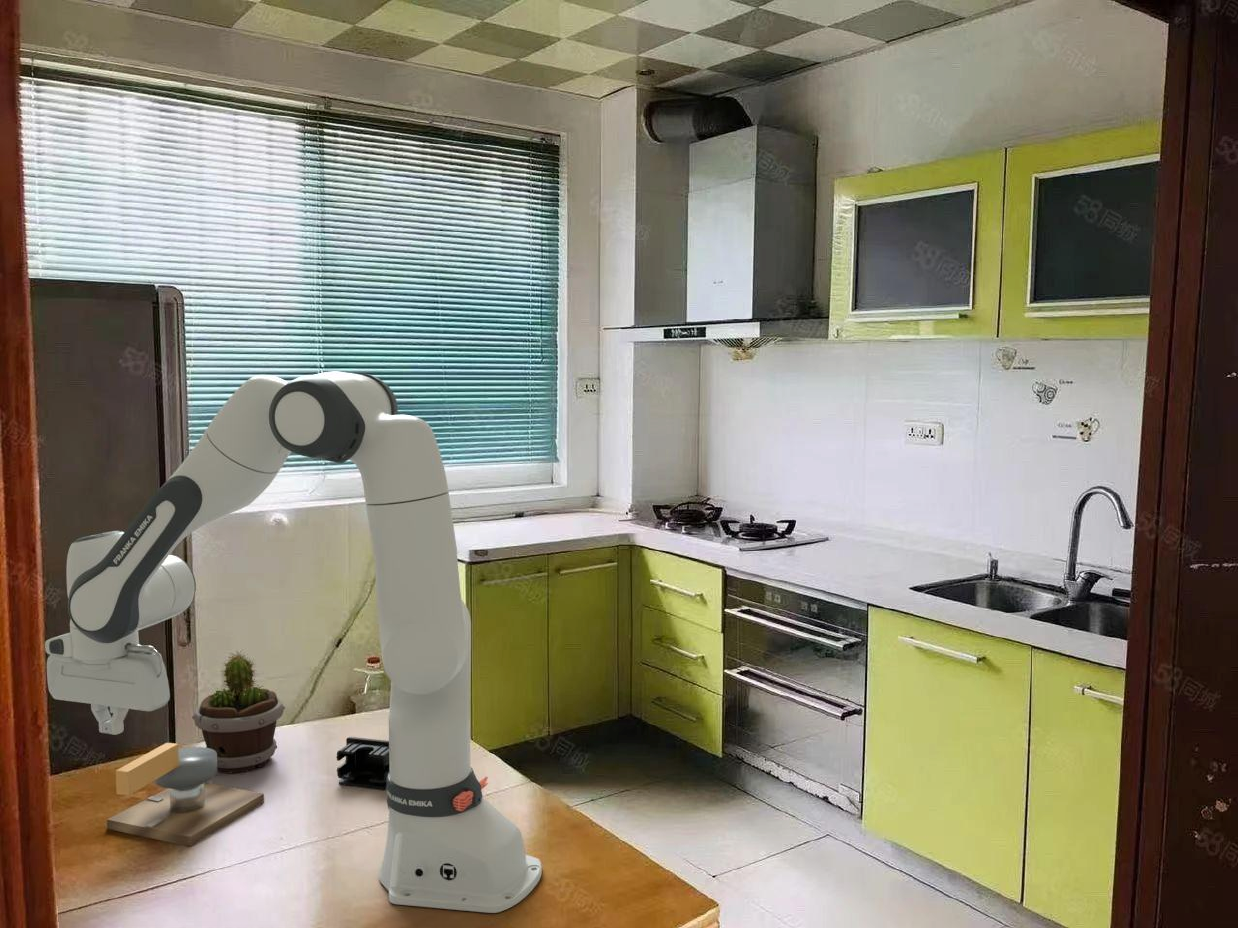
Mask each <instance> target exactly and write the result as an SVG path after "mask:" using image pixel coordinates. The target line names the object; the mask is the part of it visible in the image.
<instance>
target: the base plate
mask: <svg viewBox="0 0 1238 928" xmlns="http://www.w3.org/2000/svg"><path fill="white" fill-rule="evenodd" d="M204 791H205V805H204V806H203V807H202V808H201V809H199V810H196V811H193V812H188V813H175V812H172V811H171V810H170V790H169V788H165V789H164V790H162V791H160V792H158V793H155V794H154V795H152V796H149V797H147V798H146V799H144V800H143V801H140V802H139V803H137V804H135V805H133V806H131V807H129V808H126V809H125V810H123V811H121V812H119V813H117V814H115V815H113V816H111V817H109V818H107V819H106V830H110V831H115V832H121V833H125V834H128V835H133V836H134V835H135V836H137V837H144V838H147V839H152V840H153V839H154V840H158V841H163V842H167V843H172V844H176V845H182V846H187V847H192V846H194V845H196V844H197V843H198V842H201V841H202V840H203V839H206V838H207V837H209V836H210V835H212V834H213V833H215V832H217V831H219V830H220V829H222V828H224V827H226V826H227V825H229V824H231V823H232V822H234V821H235V820H237V819H239V818H241V817H243V816H244V815H246V814H247V813H249V812H251V811H253V810H254V809H256V808H257V807H260V806H261V805H262V803H263V804H264V803H265V793H263V792H257V791H254V790H253V791H251V790H246V789H240V788H234V787H230V786H223V785H220V784H214V783H208V782H206V783H204Z"/></svg>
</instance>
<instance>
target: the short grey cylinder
mask: <svg viewBox="0 0 1238 928" xmlns="http://www.w3.org/2000/svg"><path fill="white" fill-rule="evenodd" d="M169 790H170V810H171V811H172V812H175V813H188V812H193V811H196V810H199V809H201V808H202V807H203V806H204V805H205V791H204V783H203V784H200V785H197V786H193V787H187V788H177V789H171V788H169Z"/></svg>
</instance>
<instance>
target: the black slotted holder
mask: <svg viewBox="0 0 1238 928" xmlns="http://www.w3.org/2000/svg"><path fill="white" fill-rule="evenodd" d="M345 739H346V740H345V742H346V743H345V746H343V747H342V748H341V749H339V750H338V751H337V753H336V761H338V762H340V761H341V760H342V759H343V758H345V761H344V762H343V763H342V764H341V765H339V766H338V767H336V768H337V769H336V773H337V774H336V776H337V777H338V779H339V780H338V785H339V786H341V787H342V786H343V787H353V788H361V789H369V790H375V791H386V787H387V775H388V773H389V772H390V771H389V740H382V739H377V738H375V739H374V738H366V737H356V736H355V737H354V736H349V737H347V738H345Z"/></svg>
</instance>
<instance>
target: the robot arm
mask: <svg viewBox="0 0 1238 928" xmlns="http://www.w3.org/2000/svg"><path fill="white" fill-rule="evenodd" d="M398 410H399V407H398V402H397V398H396V395H395V394H394V392H393V390H392V389H391V387H390V386H389V385H388V384H387V383H386V382H385V381H383V380H382V379H380V378H378V377H377V376H374V375H371V374H368V373H366V372H343V371H328V372H320V373H315V374H308V375H302V376H298V377H297V378H294V379H292V380H290V381H289V382H288V381H287V380H285V379H283V378H280V377H278V376H274V375H268V374H259V375H256V376H255V375H254V376H252V377H250V378H249V379H247V380H246V381H245V382H243V384H242V385H240V386H239V387H238V389H236V390H235V392H234V393H233V394H232V395H231V396H230V397H229V398H228V400H227V401H226V402H225V403H224V404H223V406H222V407H221V408H220V410H218V411H217V413H216V414H215V416H214V417H213V418H212V420H211V422H210V423H209V424H208V426H207V428H206V429H205V430H204V432H203V434H202V436H201V437H200V438H199V440H198V442H197V443H196V444H195V446H194V447H193V448H192V450H191V451H190V452H189V454H187V456H186V458H185V459H184V460H183V461H182V463H181V464H180V465H179V466H178V467H177V469H176V470H175V471H174V472H173V473H172V475H171V476H170V477H169V478H168V479H167V480H166V481H165V482H164V483H163V485H162V486H161V487H160V488H159V489H158V490H157V491H156V492H155V493H154V495H152V497H151V498H150V499H149V500H148V501H147V502H146V504H145V505H144V506H143V508H142V509H141V510H140V511H139V512H138V514H137V515H136V516H135V518H134V519H133V521H132V522H131V523H130V524H129V525H128V527H127V528H126V530H124V531H121V530H111V531H106V532H101V533H100V532H99V533H97V534H93V535H87V536H82V537H79V538H78V539H77V538H76V540H75V541H73V542H72V543H71V544H70V546H69V549H68V552H67V557H66V591H67V593H66V594H67V599H68V601H67V609H68V614H69V618H70V620H69V630H70V631H67V633H64V634H61V635H58V636H55V637H51V638H49V639H47V640H46V641H45V642H44V648H45V652H46V653H47V655H48V658H47V659H46V676H47V677H46V678H47V679H46V680H47V687H48V692H49V693H50V695H51V697H52V698H53V699H54V700H59V701H66V702H74V703H83V704H90V709H91V712H92V714H93V716H94V718H95V719H96V721H97V722H98V731H99V733H102V734H109V735H116V736H117V735H119V734H121V733H123V732H124V731H125V730H124V729H125V728H124V726H125V725H124V720H125V719H126V716H127V715H128V712H129V710H135V711H141V712H142V711H144V712H153V711H156V710H157V709H158V710H159V709H160V708H163V707H165V706H166V705H167V704H168V702H169V701H170V698H171V693H170V685H169V679H168V676H167V675H168V674H167V670H166V666H165V663H164V661H163V657H162V654H161V653H160V652H159V651H158V650H156V649H155V647H154V646H153V645H142V644H140V639H139V631H141V630H143V629H146V628H149V627H152V626H154V625H157V624H159V623H162V622H164V621H167V620H170V619H171V618H174V617H176V616H178V615H180V614H181V613H184V612H185V611H187V610H188V609H189V608H190V607H191V605H192V604H193V602H194V599H195V596H196V590H197V587H196V586H197V584H196V577H195V575H194V572H193V570H192V568H191V567H190V566H189V564H188V563H187V562H186V561H185V560H184V559H182V558H181V557H179V555H175V554H171V553H172V552H173V551H174V550H175V549H176V547H177V546H178V545H179V544H180V543H181V542H182V541H183V540H184V539H185V538H186V537H188V536H189V535H190V534H192V533H193V532H194V531H197V530H198V529H200V528H201V527H203V526H205V525H207V524H209V523H211V522H214V521H216V520H218V519H220V518H223V517H224V516H227V515H230V514H232V513H235V512H238V511H240V510H241V509H243V508H245V507H248V506H249V505H251V504H252V503H253V502H254V501H256V499H257V498H259V497H260V496H261V494H262V493H263V492H265V490H266V489H267V488H268V487H269V486H270V484H272V483H273V481H274V479H275V478H276V477H277V475H278V473H279V472H280V470H281V469H282V467H283V466H284V464H285V462H286V461H287V459H288V458H289V456H290V455H291V453H294V454H296V455H299V456H303V457H306V458H311V459H317V460H322V461H323V460H324V461H327V462H331V463H335V464H344V463H345V462H347V461H348V460H349V461H350V462H352V463H353V464H354V465H355V466H356V468H357V470H358V471H359V473H360V476H361V482H362V486H363V493H364V500H365V507H366V513H367V521H368V526H369V531H370V533H369V534H370V540H371V546H372V547H371V548H372V552H373V553H372V554H373V559H374V560H373V562H374V571H375V572H374V573H375V574H374V576H375V578H374V579H375V593H376V594H375V596H376V609H377V620H378V621H377V623H378V631H379V641H380V651H381V661H382V664H383V669H384V671H385V673H386V676H387V677H388V679H389V680H390V698H389V699H390V700H389V712H388V713H389V714H388V741H389V771H390V772H389V773H388V775H387V787H386V790H385V791H386V803H387V808H388V823H387V835H386V843H385V847H384V848H385V849H384V854H383V859H382V862H381V866H380V869H379V873H378V878H379V881H380V883H381V884H382V885H383V886H384V888H385V889H386V890H387V891H388V900H389V903H391V904H394V905H398V906H399V905H402V906H403V905H404V906H411V907H412V906H413V907H422V908H433V909H434V908H435V909H446V910H456V911H468V912H477V913H488V914H489V913H491V914H497V913H501V912H502V911H505V910H508V909H510V908H512V907H513V906H515V905H517V904H518V903H520V902H521V901H523V899H525V898H526V897H527V896H528V895H529V894H530V893H531V892H532V891H533V890H534V888H535V887H536V886H537V885H538V883H539V881H540V880H541V877H542V874H543V868H542V862H541V860H540V859H539V858H538V857H534V856H531V855H529V854H527V853H526V848H525V842H524V837H523V835H522V832H521V829H520V828H519V827H518V826H517V825H516V824H515V823H514V822H513V821H511V820H510V819H509V818H508V817H507V816H506V815H504V814H503V813H502V812H500V811H499V809H497V808H496V807H495V806H494V805H492V803H490V802H489V801H488V800H487V799H486V798H485V797H484V794H483V792H482V790H483V789H484V788H485V787H486V786H487V785H488V783H489V782H487V781H488V779H489V777H488V776H485V777H484V778H482V779H481V780H480V781H479V780H478V779H477V775H476V774H475V771H474V769H473V768H472V766H471V682H472V681H471V674H472V673H471V672H472V667H471V666H472V665H471V663H472V620H471V619H472V618H471V615H470V614H471V613H470V611H469V609H468V607H467V605H466V603H465V602H464V601H463V599H462V595H461V593H462V592H461V584H460V575H459V574H460V573H459V571H460V570H459V563H458V562H459V561H458V548H457V540H456V536H455V535H456V534H455V526H454V520H453V512H452V505H451V501H450V492H449V487H448V480H447V475H446V471H445V466H444V462H443V459H442V458H443V457H442V454H441V451H440V447H439V445H438V442H437V439H436V437H435V433H434V431H433V429H432V427H431V426H430V425H429V423H428V422H426V420H424V419H422V418H420V417H417V416H413V415H409V414H398V412H399V411H398ZM108 707H109V708H108ZM111 714H112V715H111Z"/></svg>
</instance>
